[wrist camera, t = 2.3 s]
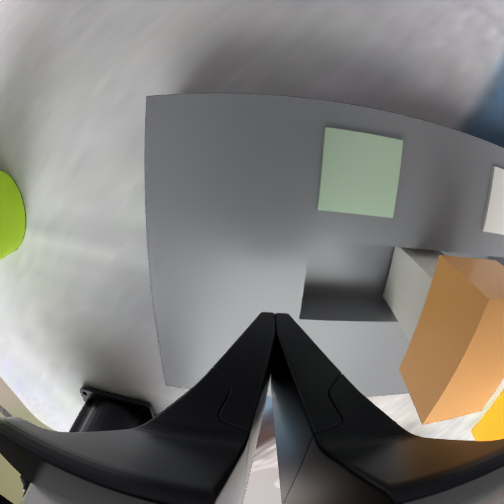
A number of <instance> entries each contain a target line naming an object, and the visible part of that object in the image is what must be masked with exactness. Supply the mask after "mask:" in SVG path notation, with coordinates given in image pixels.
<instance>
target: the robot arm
mask: <svg viewBox="0 0 504 504" xmlns="http://www.w3.org/2000/svg"><path fill="white" fill-rule="evenodd" d="M269 382H270V383H271V395H272V405H273V415H274V426H275V436H276V446H277V457H278V467H279V478H280V489H281V499H282V504H504V439H499V440H492V441H463V440H445V439H433V438H424V437H419V436H416V435H413V434H411V433H409V432H408V431H406V430H405V429H403V428H402V427H401V426H399V425H398V424H397V423H396V422H395V421H393V420H392V419H391V418H390V417H389V416H387V415H386V414H385V413H384V412H383V411H381V410H380V409H379V408H378V407H377V406H375V405H374V404H373V403H372V402H371V401H370V400H369V399H367V398H366V397H365V396H364V395H363V394H362V393H361V392H360V391H359V390H358V389H357V388H356V387H355V386H354V385H353V384H352V383H351V382H350V381H349V380H348V379H347V378H346V377H345V376H344V375H343V374H342V373H341V371H340V370H339V369H338V368H337V367H336V366H335V365H334V364H333V363H332V361H331V360H330V359H329V358H328V357H327V356H326V355H325V354H324V353H323V352H322V350H321V349H320V348H319V347H318V346H317V345H316V344H315V343H314V342H313V340H312V339H311V338H310V337H309V336H308V335H307V334H306V333H305V332H304V330H303V329H302V328H301V327H300V326H299V325H298V324H297V323H296V322H295V320H294V319H293V318H292V317H291V316H290V315H289V314H288V313H275V314H274V313H273V312H261V313H260V314H259V315H258V316H257V317H256V318H255V320H254V321H253V322H252V323H251V324H250V325H249V327H248V328H247V329H246V330H245V331H244V332H243V333H242V335H241V336H240V337H239V338H238V339H237V340H236V341H235V343H234V344H233V345H232V346H231V347H230V348H229V349H228V350H227V352H226V353H225V354H224V355H223V356H222V357H221V358H220V359H219V360H218V362H217V363H216V364H215V365H214V366H213V368H211V369H210V370H209V371H208V372H207V374H206V375H205V376H204V377H203V378H202V379H201V380H200V381H199V382H198V383H197V384H196V385H195V386H193V387H192V388H191V389H190V390H189V391H187V392H186V393H185V394H184V395H183V396H181V397H180V398H179V399H178V400H176V401H175V402H174V403H172V404H171V405H170V406H169V407H167V408H166V409H165V410H163V411H162V412H161V413H159V414H158V415H157V416H155V415H154V412H153V408H152V406H151V405H150V404H149V403H147V402H143V401H139V400H134V399H130V398H126V397H122V396H118V395H114V394H110V393H106V392H103V391H99V390H96V389H92V388H89V387H86V386H82V388H81V389H80V393H81V395H82V397H83V399H84V401H85V404H84V406H83V407H82V409H81V411H80V413H79V415H78V416H77V418H76V420H75V422H74V423H73V425H72V427H71V429H70V431H69V432H57V431H51V430H47V429H43V428H41V427H38V426H36V425H34V424H32V423H30V422H28V421H26V420H24V419H22V418H19V417H2V418H1V417H0V453H1V454H2V455H3V457H4V458H5V459H6V460H7V461H8V462H9V463H10V464H11V465H12V466H13V467H14V468H15V469H16V470H17V471H18V472H19V473H20V474H21V476H20V478H21V481H22V483H23V486H24V487H23V491H24V495H23V497H22V502H21V504H242V503H243V500H244V496H245V492H246V488H247V484H248V479H249V475H250V471H251V467H252V462H253V458H254V454H255V449H256V445H257V440H258V436H259V431H260V426H261V422H262V417H263V412H264V407H265V403H266V398H267V393H268V388H269ZM0 504H13V503H12V502H10V501H9V500H7V499H6V498H5V497H3V496H2V495H0Z"/></svg>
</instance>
